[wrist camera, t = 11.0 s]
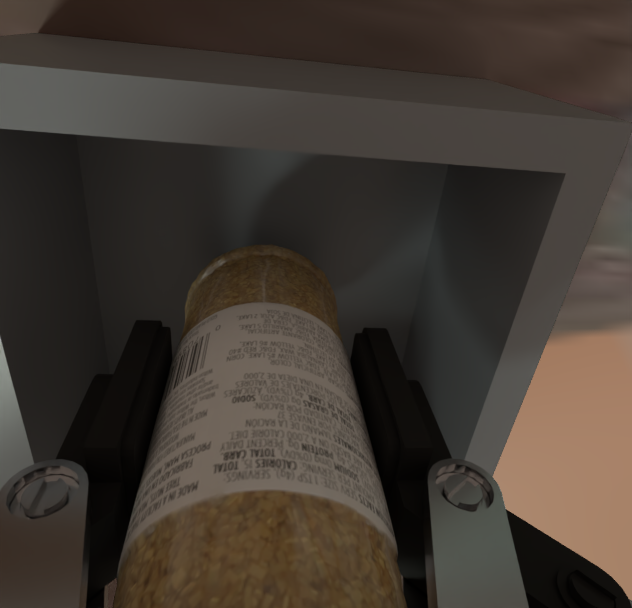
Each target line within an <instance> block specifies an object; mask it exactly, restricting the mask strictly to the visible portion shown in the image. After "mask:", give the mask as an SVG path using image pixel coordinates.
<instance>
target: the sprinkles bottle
mask: <svg viewBox="0 0 632 608" xmlns="http://www.w3.org/2000/svg"><path fill="white" fill-rule="evenodd" d="M397 557H398V550H397V544H396V540H395V536H394V531H393V527H392V523H391V519H390V515H389V511H388V507H387V504H386V500H385V496H384V492H383V488H382V484H381V480H380V476H379V472H378V468H377V464H376V460H375V456H374V453H373V449H372V445H371V441H370V437H369V434H368V430H367V426H366V422H365V418H364V414H363V410H362V406H361V402H360V398H359V394H358V390H357V386H356V382H355V379H354V375H353V371H352V367H351V363H350V360H349V356H348V354H347V351H346V349H345V347H344V345H343V342H342V337H341V334H340V330H339V326H338V322H337V305H336V298H335V295H334V292H333V290H332V288H331V285H330V283H329V282H328V279H327V277H326V276H325V274H324V272H323V271H322V270H321V269H319V268H318V267H317V266H315V265H314V264H313V263H312V262H311V261H310V260H309V259H307V258H306V257H304V256H302V255H300V254H299V253H297V252H295V251H292V250H290V249H287V248H283V247H278V246H275V245H272V244H270V245H251V246H247V247H241V248H236V249H233V250H232V251H230V252H227V253H224V254H222V255H220V256H218V257H216V258H214V259H213V260H212V261H211V262H210V263H209V264H208V265H207V266H206V267H205V268H204V269H203V270H202V271H201V272H200V273H199V275H198V277H197V279H196V280H195V281H194V282H193V283H192V285H191V287H190V290H189V292H188V297H187V301H186V305H185V325H184V329H183V333H182V336H181V340H180V344H179V345H178V347H177V349H176V351H175V353H174V356H173V359H172V363H171V367H170V370H169V374H168V378H167V382H166V385H165V389H164V392H163V396H162V400H161V403H160V407H159V411H158V415H157V418H156V422H155V426H154V429H153V433H152V437H151V441H150V445H149V448H148V452H147V456H146V460H145V464H144V468H143V472H142V477H141V481H140V484H139V488H138V492H137V495H136V499H135V503H134V507H133V511H132V515H131V519H130V522H129V526H128V530H127V534H126V538H125V542H124V546H123V550H122V553H121V557H120V561H119V566H118V572H117V588H116V593H115V597H114V602H113V608H407V604H406V600H405V597H404V594H403V590H402V581H401V576H400V571H399V567H398V564H397Z"/></svg>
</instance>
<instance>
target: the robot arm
mask: <svg viewBox="0 0 632 608" xmlns="http://www.w3.org/2000/svg"><path fill="white" fill-rule="evenodd" d="M171 363H172V344H171V330H170V327H163V326H162V322H161V321H156V320H136V322H135V324H134V326H133V328H132V331H131V333H130V336H129V338H128V340H127V343H126V345H125V348H124V350H123V352H122V355H121V357H120V360H119V362H118V364H117V367H116V369H115V372H114V374H97V375H95V376H94V378H93V380H92V382H91V384H90V386H89V388H88V390H87V392H86V394H85V397H84V399H83V401H82V403H81V405H80V407H79V409H78V412H77V414H76V416H75V418H74V420H73V422H72V424H71V427H70V429H69V431H68V433H67V435H66V437H65V439H64V442H63V444H62V446H61V448H60V450H59V452H58V454H57V457H56V459H54V460H46V461H42V462H38V463H35V464H33V465H31V466H28V467H26V468H24V469H22V470H21V471H19V472H18V473H17V474H15V475H14V476H12V477H11V478H10V479H9V480H8V481H7V482H6V484H5V485H4V486H3V487H2V488H1V490H0V608H108V584H109V583H110V582H111V581H112V580H114V579H115V578H116V577H117V572H118V566H119V561H120V557H121V553H122V550H123V546H124V542H125V538H126V534H127V530H128V526H129V522H130V519H131V515H132V511H133V507H134V503H135V499H136V495H137V492H138V488H139V484H140V481H141V477H142V472H143V468H144V464H145V460H146V456H147V452H148V448H149V445H150V441H151V437H152V433H153V429H154V426H155V422H156V418H157V415H158V411H159V407H160V403H161V400H162V396H163V392H164V389H165V385H166V382H167V378H168V374H169V370H170V367H171ZM350 363H351V367H352V371H353V375H354V379H355V382H356V386H357V390H358V394H359V398H360V402H361V406H362V410H363V414H364V418H365V422H366V426H367V430H368V434H369V437H370V441H371V445H372V449H373V453H374V456H375V460H376V464H377V468H378V472H379V476H380V480H381V484H382V488H383V492H384V496H385V500H386V504H387V507H388V511H389V515H390V519H391V523H392V527H393V531H394V536H395V540H396V544H397V550H398V557H397V564H398V567H399V571H400V576H401V581H402V590H403V594H404V597H405V600H406V604H407V608H632V601H631V600H629V599H628V597H627V596H626V594H625V592H624V591H623V589H622V588H621V587H620V586H619V584H618V583H617V582H616V581H615V580H614V579H613V578H612V577H611V576H610V575H609V574H607V573H606V572H605V571H603V570H602V569H600V568H599V567H598V566H596V565H594V564H593V563H591V562H590V561H588V560H587V559H585V558H583V557H581V556H580V555H578V554H577V553H575V552H574V551H572V550H570V549H569V548H567V547H566V546H564V545H562V544H561V543H559V542H558V541H556V540H554V539H553V538H551V537H549V536H548V535H546V534H545V533H543V532H542V531H540V530H538V529H537V528H535V527H533V526H532V525H530V524H528V523H527V522H526V521H524V520H522V519H521V518H519V517H517V516H516V515H514V514H513V513H511V512H509V511H508V510H506V509H505V505H504V501H503V497H502V493H501V491H500V488H499V486H498V484H497V482H496V481H495V480H494V478H493V477H492V476H491V475H490V474H489V473H488V472H486V471H485V470H484V469H483V468H481V467H480V466H478V465H476V464H474V463H472V462H469V461H465V460H462V459H452V457H451V454H450V452H449V449H448V447H447V445H446V442H445V440H444V438H443V435H442V433H441V431H440V428H439V426H438V424H437V421H436V419H435V416H434V414H433V412H432V409H431V407H430V405H429V402H428V400H427V398H426V395H425V393H424V390H423V388H422V386H421V384H420V382H419V381H417V380H407V378H406V376H405V373H404V371H403V368H402V366H401V363H400V361H399V358H398V355H397V353H396V350H395V348H394V345H393V343H392V340H391V338H390V335H389V332H388V330H387V329H386V328H367V327H365V328H363V331H362V333H356V334H355V336H354V342H353V348H352V354H351V360H350Z"/></svg>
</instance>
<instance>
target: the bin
mask: <svg viewBox="0 0 632 608" xmlns="http://www.w3.org/2000/svg"><path fill="white" fill-rule="evenodd" d="M631 133H632V122H628V121H625V120H622V119H618V118H615V117H612V116H608V115H605V114H601V113H598V112H595V111H591V110H588V109H585V108H581V107H578V106H575V105H571V104H568V103H565V102H561V101H558V100H555V99H551V98H548V97H544V96H541V95H538V94H534V93H531V92H528V91H524V90H521V89H518V88H514V87H511V86H508V85H504V84H501V83H497V82H494V81H491V80H487V79H477V78H468V77H458V76H448V75H439V74H429V73H419V72H410V71H400V70H390V69H381V68H371V67H361V66H352V65H342V64H332V63H323V62H313V61H303V60H294V59H284V58H274V57H265V56H255V55H245V54H236V53H226V52H216V51H207V50H197V49H187V48H178V47H168V46H158V45H149V44H139V43H129V42H120V41H110V40H100V39H91V38H81V37H71V36H61V35H52V34H42V33H30V34H18V35H7V36H0V490H1V488H2V487H3V486H4V485H5V484H6V482H7V481H8V480H9V479H10V478H11V477H12V476H14V475H15V474H17V473H18V472H19V471H21V470H22V469H24V468H26V467H28V466H31V465H33V464H35V463H38V462H42V461H46V460H54V459H56V457H57V454H58V452H59V450H60V448H61V446H62V444H63V442H64V439H65V437H66V435H67V433H68V431H69V429H70V427H71V424H72V422H73V420H74V418H75V416H76V414H77V412H78V409H79V407H80V405H81V403H82V401H83V399H84V397H85V394H86V392H87V390H88V388H89V386H90V384H91V382H92V380H93V378H94V376H95V375H97V374H114V372H115V369H116V367H117V364H118V362H119V360H120V357H121V355H122V352H123V350H124V348H125V345H126V343H127V340H128V338H129V336H130V333H131V331H132V328H133V326H134V324H135V322H136V320H156V321H161V322H162V326H163V327H170V330H171V344H172V359H173V356H174V353H175V351H176V349H177V347H178V345H179V344H180V340H181V336H182V333H183V329H184V325H185V305H186V301H187V297H188V292H189V290H190V287H191V285H192V283H193V282H194V281H195V280H196V279H197V277H198V275H199V273H200V272H201V271H202V270H203V269H204V268H205V267H206V266H207V265H208V264H209V263H210V262H211V261H212V260H213V259H214V258H216V257H218V256H220V255H222V254H224V253H227V252H230V251H232V250H233V249H236V248H241V247H247V246H251V245H270V244H272V245H275V246H278V247H283V248H287V249H290V250H292V251H295V252H297V253H299V254H300V255H302V256H304V257H306V258H307V259H309V260H310V261H311V262H312V263H313V264H314V265H315V266H317V267H318V268H319V269H321V270H322V271H323V272H324V274H325V276H326V277H327V279H328V282H329V283H330V285H331V288H332V290H333V292H334V295H335V298H336V305H337V322H338V326H339V330H340V334H341V337H342V342H343V345H344V347H345V349H346V351H347V354H348V356H349V360H351V354H352V348H353V342H354V336H355V334H356V333H362V331H363V328H365V327H367V328H386V329H387V330H388V332H389V335H390V338H391V340H392V343H393V345H394V348H395V350H396V353H397V355H398V358H399V361H400V363H401V366H402V368H403V371H404V373H405V376H406V378H407V380H417V381H419V382H420V384H421V386H422V388H423V390H424V393H425V395H426V398H427V400H428V402H429V405H430V407H431V409H432V412H433V414H434V416H435V419H436V421H437V424H438V426H439V428H440V431H441V433H442V435H443V438H444V440H445V442H446V445H447V447H448V449H449V452H450V454H451V457H452V459H462V460H465V461H469V462H472V463H474V464H476V465H478V466H480V467H481V468H483V469H484V470H485V471H486V472H488V473H489V474H490V475H491V476H493V474H494V471H495V469H496V466H497V464H498V461H499V459H500V456H501V454H502V451H503V449H504V447H505V444H506V442H507V439H508V437H509V434H510V432H511V429H512V427H513V424H514V422H515V419H516V417H517V414H518V412H519V409H520V407H521V405H522V402H523V399H524V397H525V395H526V392H527V390H528V387H529V385H530V382H531V380H532V377H533V375H534V372H535V370H536V368H537V365H538V363H539V360H540V358H541V355H542V353H543V350H544V348H545V345H546V343H547V340H548V338H549V335H550V333H551V331H552V328H553V326H554V323H555V321H556V318H557V316H558V313H559V311H560V308H561V306H562V303H563V301H564V298H565V296H566V293H567V291H568V289H569V286H570V284H571V281H572V279H573V276H574V274H575V271H576V269H577V266H578V264H579V261H580V259H581V256H582V254H583V251H584V249H585V247H586V244H587V242H588V239H589V237H590V234H591V232H592V229H593V227H594V224H595V222H596V219H597V217H598V214H599V212H600V210H601V207H602V205H603V202H604V200H605V197H606V195H607V192H608V190H609V187H610V185H611V182H612V180H613V177H614V175H615V172H616V170H617V168H618V165H619V163H620V160H621V158H622V155H623V153H624V150H625V148H626V145H627V143H628V140H629V138H630V135H631Z"/></svg>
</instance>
